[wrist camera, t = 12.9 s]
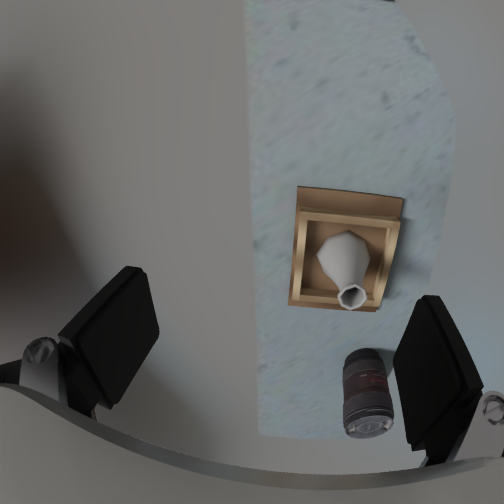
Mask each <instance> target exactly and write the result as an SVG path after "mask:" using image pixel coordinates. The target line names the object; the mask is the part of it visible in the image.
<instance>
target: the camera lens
mask: <svg viewBox="0 0 504 504" xmlns="http://www.w3.org/2000/svg"><path fill="white" fill-rule="evenodd" d="M343 390H344V405H343V425H344V428H345V432H346V434H347V435H348V436H350V437H352V438H358V439H364V438H372V437H376V436H379V435H381V434H383V433H385V432H387V431H388V430H389V429H390V428H391V427H392V425H393V418H394V411H393V404H392V399H391V395H390V393H389V387H388V381H387V374H386V369H385V366H384V363H383V360H382V359H381V358H380V356H379V354H378V352H376V351H375V350H373V349H360V350H356V351H354V352H352V353H351V354H349V355H348V357H347V358H346V360H345V365H344V367H343Z"/></svg>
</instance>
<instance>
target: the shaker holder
mask: <svg viewBox="0 0 504 504" xmlns="http://www.w3.org/2000/svg"><path fill="white" fill-rule="evenodd" d="M402 202H403V199H402V198H399V197H392V196H385V195H378V194H371V193H363V192H354V191H346V190H336V189H327V188H316V187H305V186H298V188H297V204H296V218H295V232H294V245H293V257H292V268H291V279H290V289H289V299H288V305H291V306H301V307H312V308H324V309H336V310H348V309H346V308H344V307H342V306H341V304H340V302H339V299H338V296H337V295H338V293H339V292H340V291H339V288H338V286H337V285H336V284H335V283H334V282H333V281H332V279H331V278H329V277H328V276H327V275H326V274H325V273H324V272H323V270H322V267H321V265H320V262H319V260H318V257H317V255H316V254H317V252H318V251H319V249H320V248H321V247H322V245H323V244H324V242H325V241H326V239H327V238H328V237H330V236H333V235H336V234H339V233H341V232H344V231H347V230H348V231H350V232H352V233H353V234H355V235H356V236H358V237H360V238H361V239H363V240H364V241H365V243H366V246H367V249H368V252H369V256H370V262H369V264H368V267H367V269H366V272H365V275H364V278H363V287H364V288H365V290H366V294H367V297H368V299H367V300H366V302H365V303H364V304H363V305H362V306H361V307H359V308H356V309H353V310H350V311H365V312H376V310H377V307H379V306H380V303H381V299H382V296H383V293H384V289H385V286H386V282H387V279H388V275H389V271H390V267H391V264H392V260H393V256H394V251H395V247H396V243H397V238H398V234H399V229H400V224H401V222H400V221H399V219H400V213H401V208H402Z"/></svg>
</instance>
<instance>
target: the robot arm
mask: <svg viewBox="0 0 504 504" xmlns="http://www.w3.org/2000/svg"><path fill="white" fill-rule="evenodd" d="M58 337H59V339H60V342H59V343H58V344H57V342H56V341H55V339H53V338H51V337H40V338H37V339H35V340H33V341H32V342H30V344H28V345H27V347H26V348H25V350H24V353H23V357H22V359H20V360H17V361H13V362H9V363H5V364H1V365H0V504H504V395H503V394H501V393H499V392H497V391H489V392H486V393H485V394H484V395H483V394H482V391H481V390H482V388H483V387H484V386H483V383H482V381H481V378H480V376H479V373H478V371H477V369H476V366H475V364H474V362H473V360H472V357H471V355H470V353H469V351H468V349H467V347H466V345H465V343H464V340H463V338H462V336H461V334H460V333H459V331H458V329H457V327H456V325H455V323H454V321H453V319H452V318H451V315H450V314H449V312H448V310H447V309H446V306H445V305H444V303H443V301H442V300H441V298H440V297H439V296H434V295H424V296H423V297H422V298H421V299H418V300H417V302H416V304H415V307H414V310H413V312H412V315H411V317H410V320H409V322H408V325H407V327H406V330H405V332H404V334H403V337H402V339H401V341H400V343H399V346H398V348H397V350H396V352H395V354H394V358H393V367H394V371H395V376H396V380H397V385H398V390H399V395H400V401H401V406H402V412H403V418H404V425H405V431H406V438H407V442H408V443H409V444H411V448H412V451H418V450H426V457H425V459H424V460H423V462H422V463H421V465H420V466H419V468H414V469H408V470H399V471H390V472H381V473H369V474H350V475H319V474H318V475H317V474H298V473H285V472H275V471H266V470H258V469H252V468H245V467H240V466H234V465H229V464H224V463H219V462H214V461H210V460H206V459H201V458H198V457H194V456H190V455H186V454H183V453H179V452H176V451H173V450H169V449H166V448H163V447H160V446H157V445H154V444H151V443H148V442H146V441H143V440H140V439H138V438H135V437H132V436H130V435H127V434H125V433H122V432H120V431H117V430H115V429H113V428H111V427H108V426H106V425H104V424H102V423H100V422H98V421H97V417H96V412H95V406H96V404H97V403H98V404H99V405H101V406H103V407H105V408H107V409H110V410H111V409H112V407H113V405H114V404H117V403H118V402H119V401H120V400H121V398H122V396H123V394H124V393H125V391H126V389H127V388H128V386H129V384H130V383H131V381H132V379H133V378H134V376H135V374H136V373H137V371H138V369H139V368H140V366H141V364H142V363H143V361H144V360H145V358H146V357H147V355H148V353H149V351H150V350H151V348H152V347H153V345H154V344H155V342H156V340H157V339H158V337H159V326H158V322H157V319H156V314H155V310H154V305H153V301H152V297H151V292H150V288H149V283H148V278H147V274H146V273H144V272H143V270H142V269H141V268H139V267H132V266H126V267H124V268H123V269H122V270H121V271H120V272H119V273H118V274H117V275H116V276H115V277H114V278H113V279H111V281H109V282H108V284H106V285H105V286H104V287H103V288H102V289H101V290H100V291H99V292H98V293H97V294H96V295H95V296H94V297H93V298H92V299H91V300H90V301H89V302H88V303H87V304H86V305H85V306H84V307H83V308H82V309H81V311H79V312H78V314H76V316H74V318H73V319H72V320H71V321H70V322H69V323H68V324H67V325H66V326H65V327H64V328H63V329H62V330H61V331H60V333H59V334H58Z"/></svg>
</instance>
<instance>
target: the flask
mask: <svg viewBox="0 0 504 504" xmlns="http://www.w3.org/2000/svg"><path fill="white" fill-rule="evenodd" d="M316 255H317V257H318V260H319V262H320V265H321V267H322V270H323V272H324V273H325V274H326V275H327V276H328V277H329V278H331V279H332V281H333V282H334V283H335V284H336V285H337V286H338V288H339V291H340V292H339V293H338V295H337V296H338V299H339V302H340V304H341V306H342V307H344V308H346V309H348V310H353V309H356V308H359V307H361V306H362V305H363V304H364V303H365V302H366V300H367V299H368V297H367V294H366V290H365V288H364V287H363V278H364V275H365V272H366V269H367V267H368V264H369V262H370V256H369V252H368V249H367V246H366V243H365V241H364V240H363V239H361V238H360V237H358V236H356V235H355V234H353V233H352V232H350V231H348V230H347V231H344V232H341V233H339V234H336V235H333V236H330V237H328V238H327V239H326V241H325V242H324V244H323V245H322V247H321V248H320V249H319V251H318V252H317V254H316Z"/></svg>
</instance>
